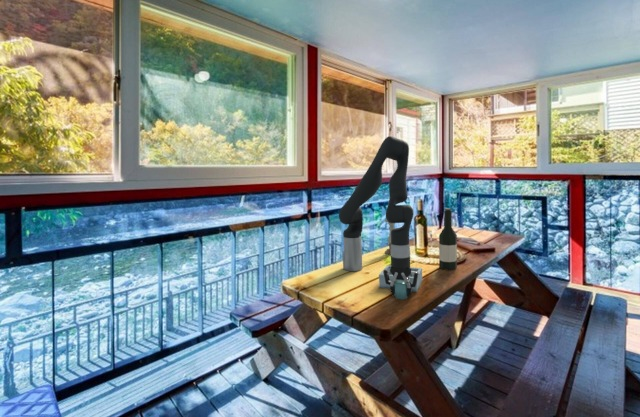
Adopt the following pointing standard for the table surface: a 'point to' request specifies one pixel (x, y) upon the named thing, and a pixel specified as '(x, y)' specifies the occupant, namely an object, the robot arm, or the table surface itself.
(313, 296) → the table surface
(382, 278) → the blue-grey tote
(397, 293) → the teal glossy cylinder
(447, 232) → the wine bottle
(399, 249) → the robot arm
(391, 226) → the candle holder
